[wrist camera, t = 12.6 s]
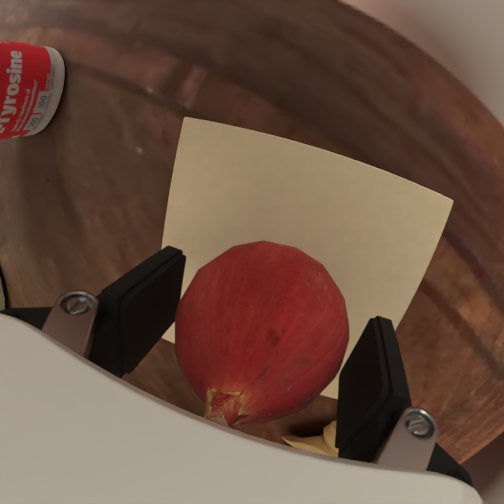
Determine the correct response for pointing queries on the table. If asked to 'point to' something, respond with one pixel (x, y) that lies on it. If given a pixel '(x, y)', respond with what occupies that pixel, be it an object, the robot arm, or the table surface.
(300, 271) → the onion
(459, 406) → the table surface
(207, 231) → the cream square tile
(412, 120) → the table surface
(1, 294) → the bowl
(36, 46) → the pill bottle
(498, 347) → the table surface
